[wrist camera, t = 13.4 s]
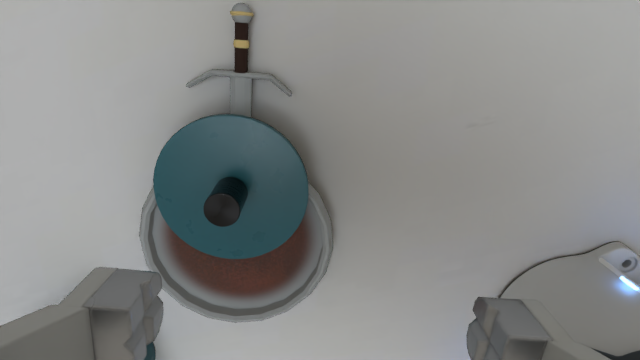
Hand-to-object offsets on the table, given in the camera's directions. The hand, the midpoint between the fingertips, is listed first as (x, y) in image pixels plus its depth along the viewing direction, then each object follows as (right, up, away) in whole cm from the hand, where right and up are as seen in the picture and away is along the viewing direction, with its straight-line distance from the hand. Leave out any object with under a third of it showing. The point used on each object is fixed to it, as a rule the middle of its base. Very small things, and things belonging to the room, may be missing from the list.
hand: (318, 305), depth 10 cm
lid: (-7, +3, +22) cm, 23 cm away
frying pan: (-7, +4, +25) cm, 26 cm away
